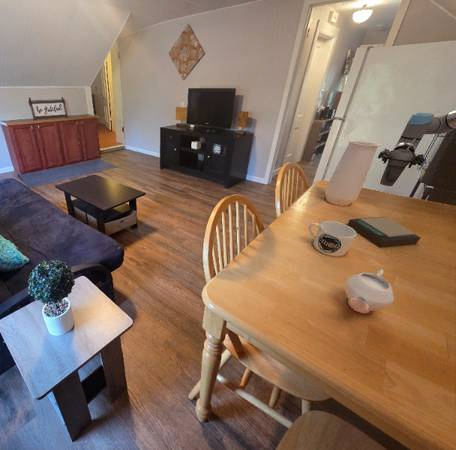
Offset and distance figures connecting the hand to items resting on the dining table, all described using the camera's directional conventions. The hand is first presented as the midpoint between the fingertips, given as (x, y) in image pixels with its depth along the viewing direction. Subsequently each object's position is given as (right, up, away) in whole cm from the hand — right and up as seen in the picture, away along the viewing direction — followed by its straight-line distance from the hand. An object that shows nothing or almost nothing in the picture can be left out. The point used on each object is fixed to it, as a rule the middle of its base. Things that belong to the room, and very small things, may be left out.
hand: (398, 162), depth 100 cm
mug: (-39, -34, -12) cm, 53 cm away
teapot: (-45, -47, -35) cm, 74 cm away
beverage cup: (+3, -8, +9) cm, 12 cm away
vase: (-11, -14, +19) cm, 26 cm away
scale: (-13, -29, -6) cm, 33 cm away
